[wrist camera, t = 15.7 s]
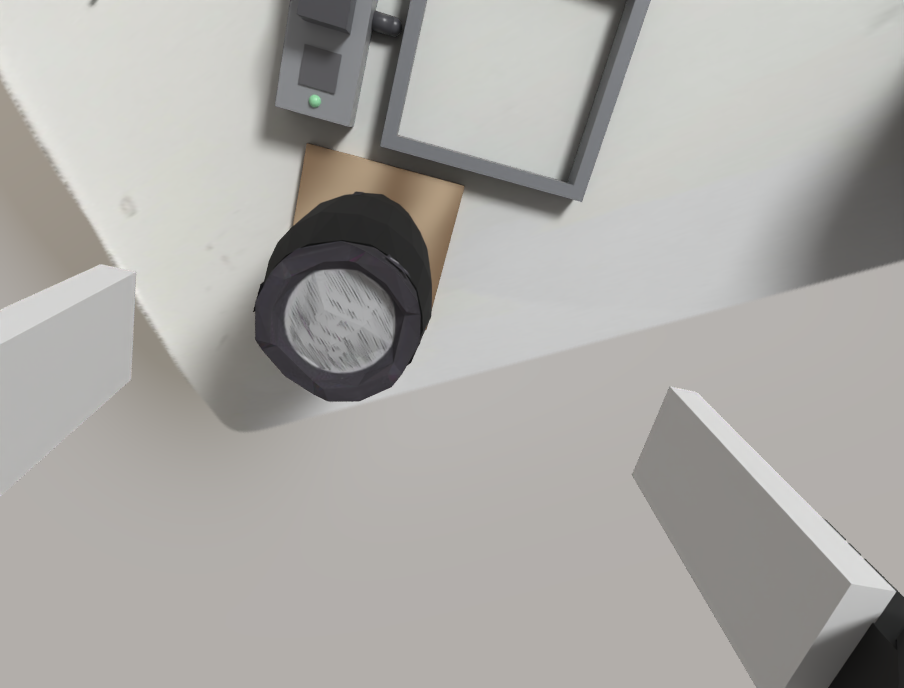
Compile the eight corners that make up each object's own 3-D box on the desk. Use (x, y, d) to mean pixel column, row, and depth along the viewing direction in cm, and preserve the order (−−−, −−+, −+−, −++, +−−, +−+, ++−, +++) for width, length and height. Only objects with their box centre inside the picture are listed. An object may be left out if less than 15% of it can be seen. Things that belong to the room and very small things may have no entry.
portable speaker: (409, 309, 46) (405, 432, 28) (296, 273, 45) (216, 380, 27) (443, 209, 44) (463, 274, 25) (324, 167, 42) (255, 205, 24)
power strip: (389, -62, 37) (385, -90, 32) (353, 126, 42) (345, 127, 36) (314, -87, 37) (297, -120, 32) (285, 107, 41) (266, 105, 36)
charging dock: (649, -24, 39) (661, -30, 37) (574, 198, 45) (581, 202, 43) (386, -115, 36) (385, -127, 35) (340, 133, 42) (337, 134, 40)
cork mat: (463, 185, 44) (464, 186, 43) (426, 327, 48) (426, 329, 47) (308, 142, 42) (306, 143, 41) (282, 294, 46) (281, 296, 45)
